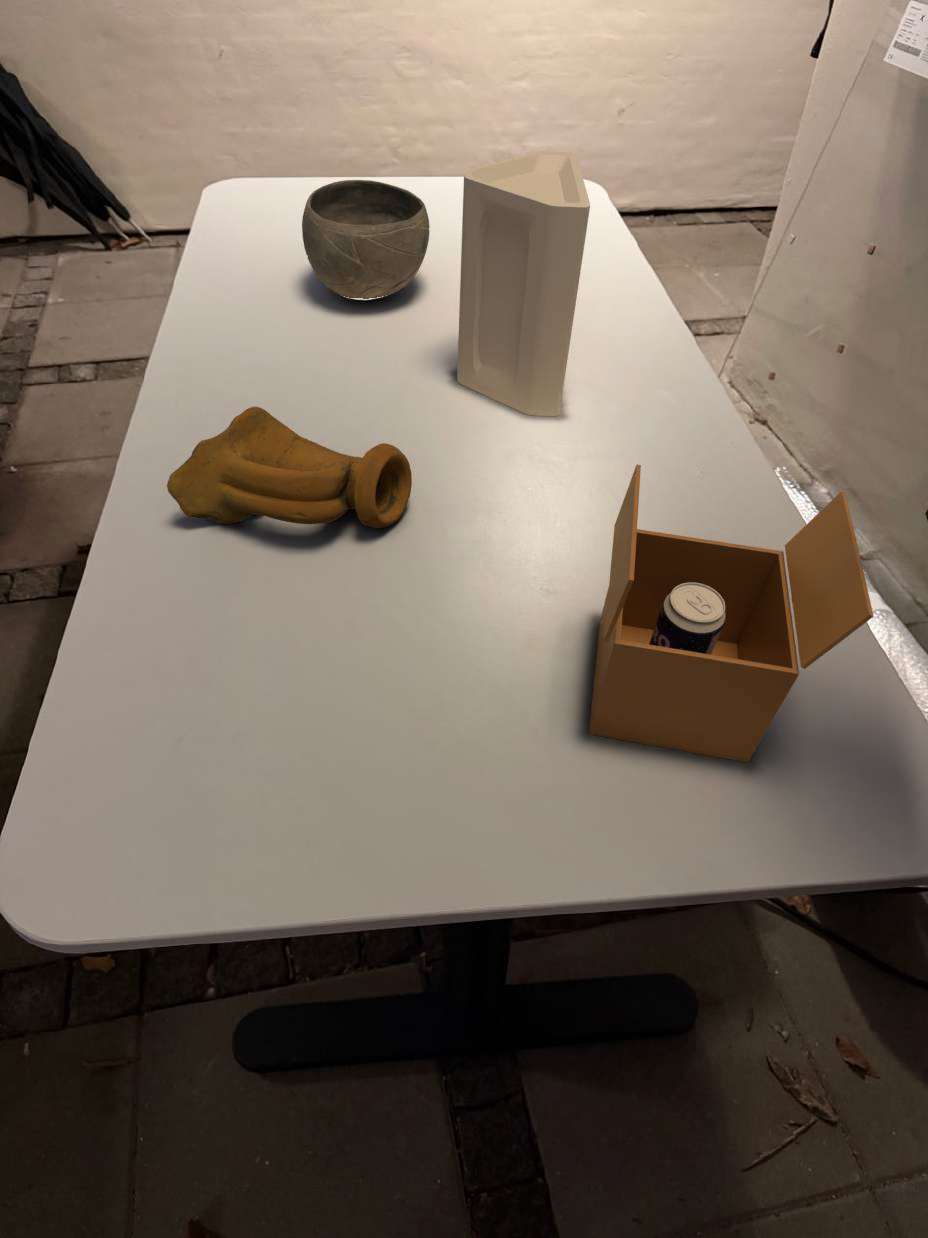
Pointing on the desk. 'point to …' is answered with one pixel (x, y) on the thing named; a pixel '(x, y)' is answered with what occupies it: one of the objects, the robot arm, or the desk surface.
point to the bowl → (365, 237)
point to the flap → (826, 581)
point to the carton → (683, 680)
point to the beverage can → (690, 619)
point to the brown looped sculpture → (288, 477)
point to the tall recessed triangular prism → (520, 277)
